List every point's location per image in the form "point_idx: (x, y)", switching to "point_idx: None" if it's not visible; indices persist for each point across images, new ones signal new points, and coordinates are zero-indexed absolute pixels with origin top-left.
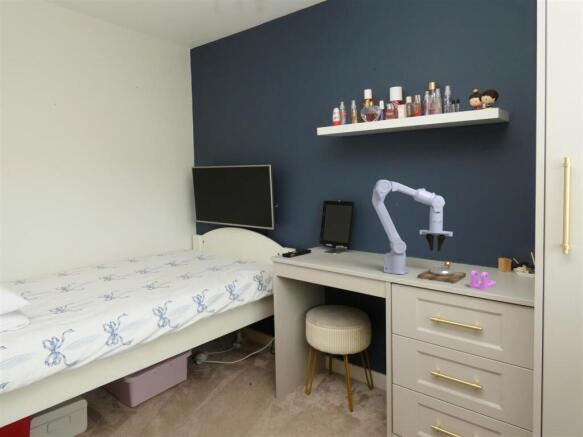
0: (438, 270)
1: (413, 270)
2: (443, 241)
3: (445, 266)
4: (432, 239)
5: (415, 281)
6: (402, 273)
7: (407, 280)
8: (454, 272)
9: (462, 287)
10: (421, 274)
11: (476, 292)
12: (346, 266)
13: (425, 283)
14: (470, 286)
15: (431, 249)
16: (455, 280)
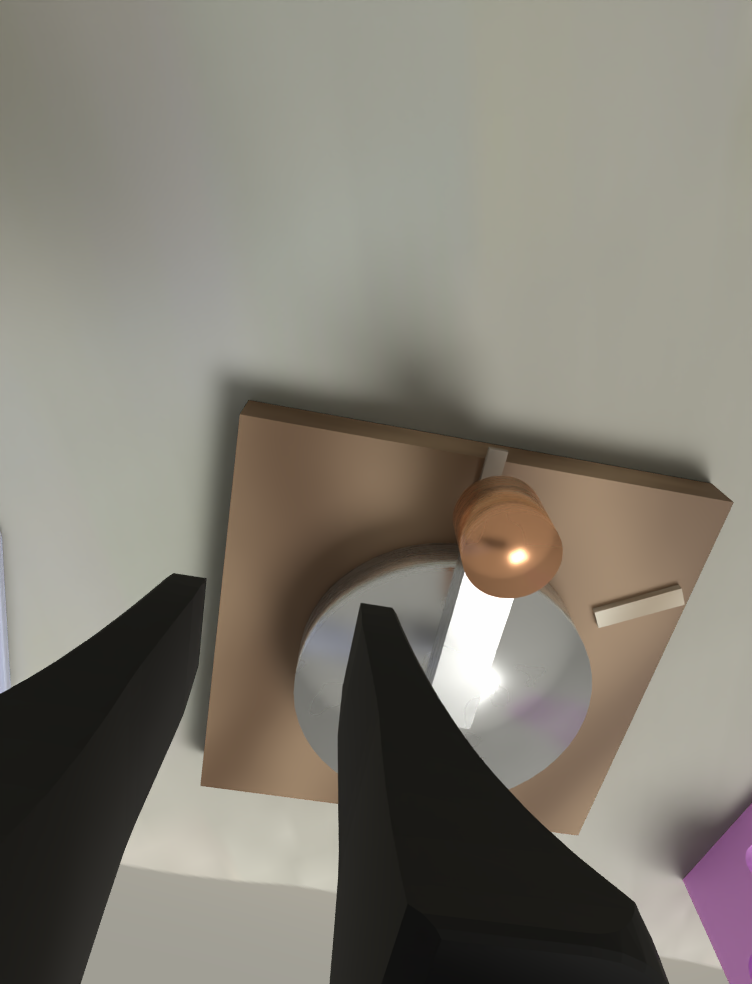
0: None
1: (8, 394)
2: (498, 796)
3: (485, 681)
4: (77, 869)
5: (228, 857)
6: (1, 691)
7: (153, 850)
8: (583, 529)
9: (621, 891)
10: (229, 759)
11: (707, 965)
12: None
13: (323, 883)
14: (689, 889)
15: (187, 694)
16: (578, 821)
